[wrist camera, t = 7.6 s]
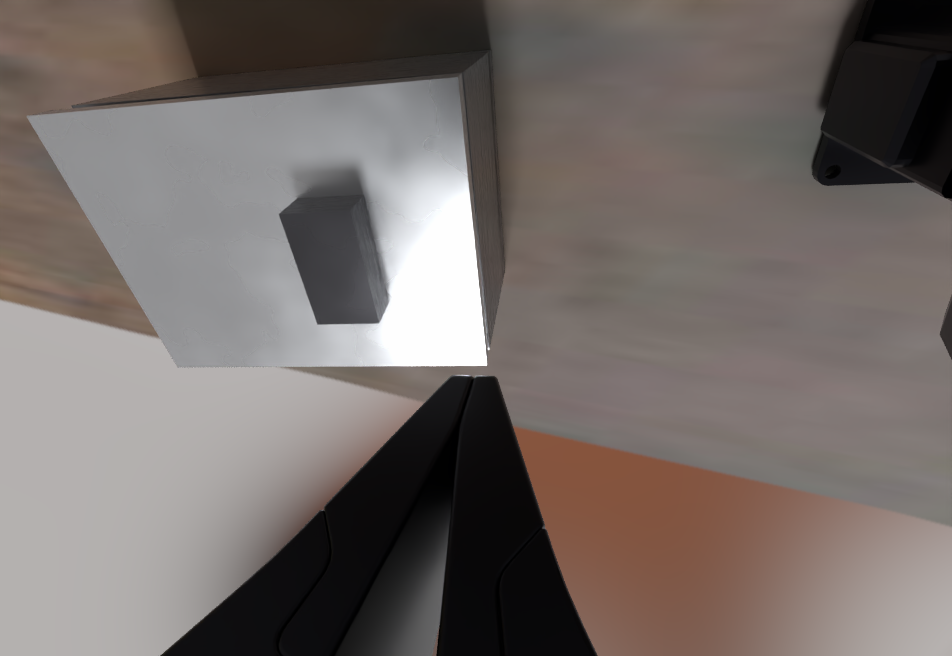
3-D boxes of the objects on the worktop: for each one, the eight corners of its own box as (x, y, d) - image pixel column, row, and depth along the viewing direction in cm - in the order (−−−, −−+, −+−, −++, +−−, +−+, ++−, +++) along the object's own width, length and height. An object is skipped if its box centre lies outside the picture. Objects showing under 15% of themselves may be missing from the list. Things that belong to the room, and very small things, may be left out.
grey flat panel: (461, 72, 12) (450, 85, 10) (488, 351, 17) (483, 389, 15) (50, 110, 13) (-16, 126, 12) (190, 354, 18) (157, 388, 17)
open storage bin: (491, 49, 17) (463, 72, 12) (504, 271, 22) (489, 349, 17) (197, 77, 19) (71, 105, 14) (273, 273, 24) (201, 344, 19)
